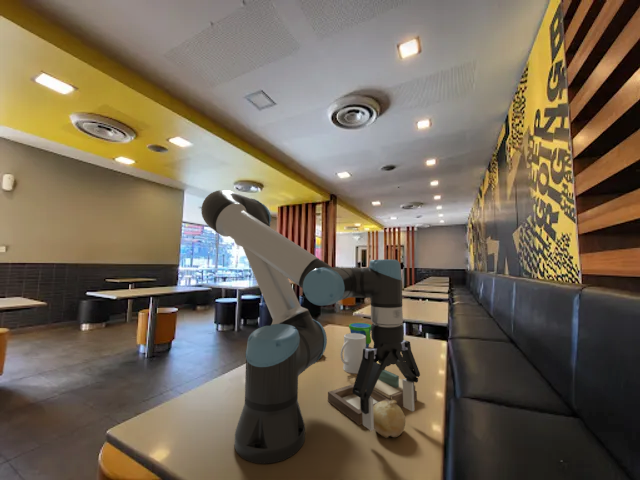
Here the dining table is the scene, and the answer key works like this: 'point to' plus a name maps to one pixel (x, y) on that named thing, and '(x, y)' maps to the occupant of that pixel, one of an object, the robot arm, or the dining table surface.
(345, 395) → the brown sliding lid box
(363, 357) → the robot arm
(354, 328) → the snack cup
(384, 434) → the onion
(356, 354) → the mug
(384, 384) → the cover
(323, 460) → the dining table surface
